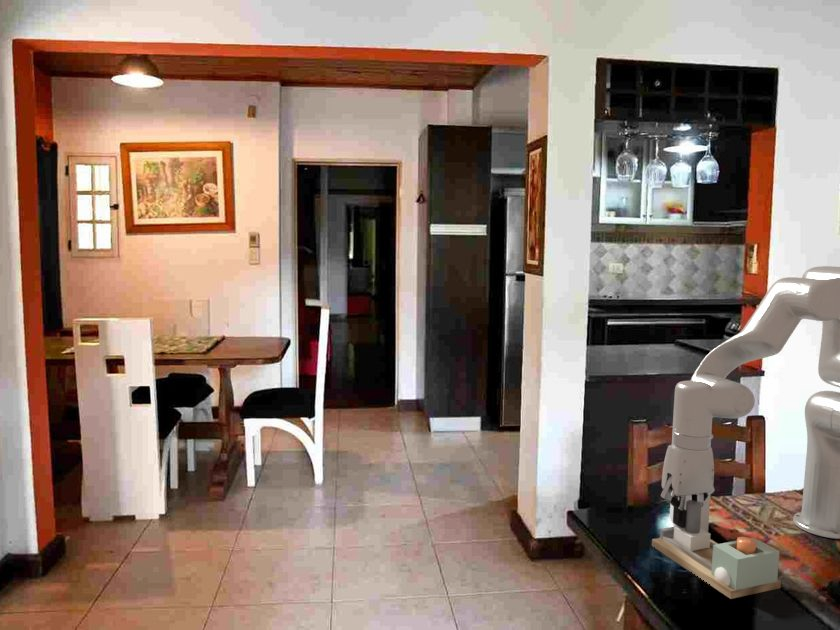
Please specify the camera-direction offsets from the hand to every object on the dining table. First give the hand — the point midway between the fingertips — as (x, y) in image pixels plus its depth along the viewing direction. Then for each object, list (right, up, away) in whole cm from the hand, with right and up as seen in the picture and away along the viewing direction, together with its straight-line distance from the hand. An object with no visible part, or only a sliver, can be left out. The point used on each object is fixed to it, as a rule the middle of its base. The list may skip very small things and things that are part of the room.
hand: (686, 523), depth 141 cm
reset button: (+5, -1, -15) cm, 16 cm away
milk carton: (+5, -4, +12) cm, 14 cm away
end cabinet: (+5, -7, -14) cm, 17 cm away
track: (+3, -6, -7) cm, 10 cm away
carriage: (+1, -4, -1) cm, 4 cm away
